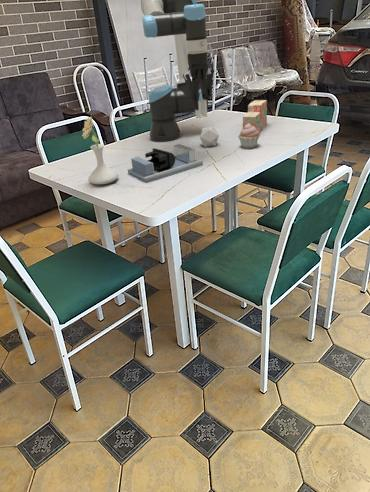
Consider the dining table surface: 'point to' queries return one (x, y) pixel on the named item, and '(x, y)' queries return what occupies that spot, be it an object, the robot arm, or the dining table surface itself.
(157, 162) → the end cap
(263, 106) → the stack of blocks
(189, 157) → the block
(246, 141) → the cupcake
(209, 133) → the die
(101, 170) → the flower in vase
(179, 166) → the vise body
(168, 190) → the dining table surface
